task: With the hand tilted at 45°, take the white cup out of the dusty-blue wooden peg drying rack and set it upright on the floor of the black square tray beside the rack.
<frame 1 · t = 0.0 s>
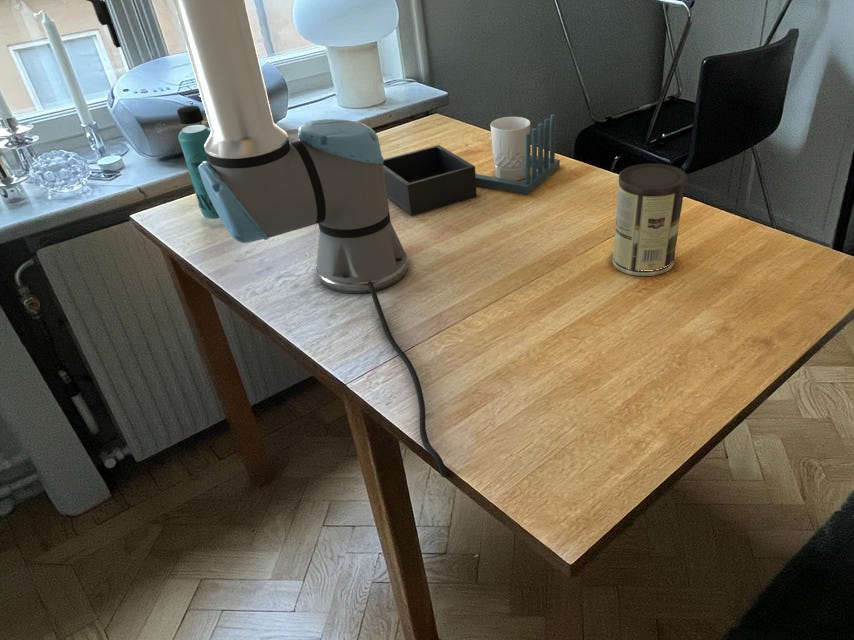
hand: (156, 39, 129), 28 cm above the table, tool pointing down, fingers open, 13 cm apart
black square tray: (426, 194, 145), on the table
beverage bottle: (221, 220, 141), on the table
coffee can: (642, 262, 121), on the table
white cup: (511, 176, 149), on the table
drying rack: (511, 175, 149), on the table
canned food: (304, 193, 148), on the table
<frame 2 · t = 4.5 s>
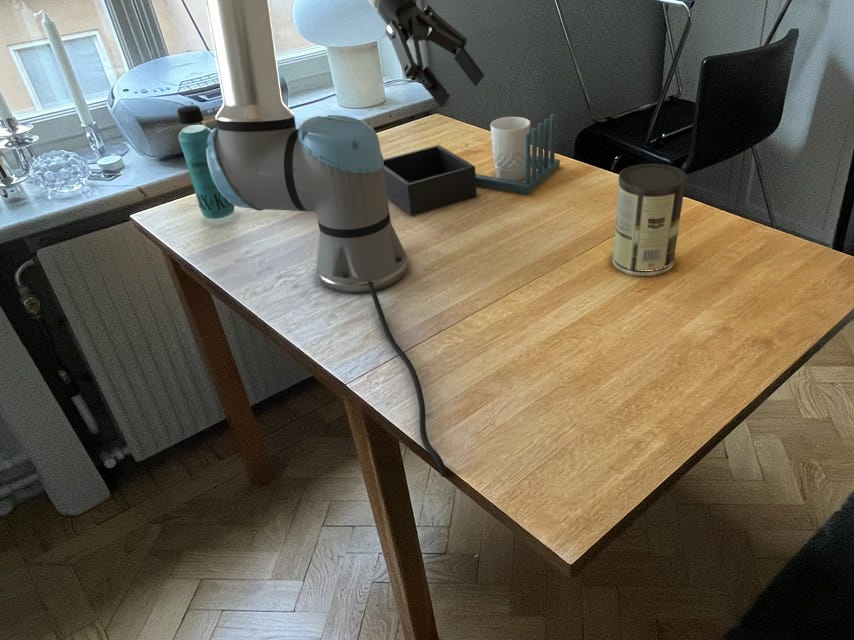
hand: (463, 91, 143), 15 cm above the table, tool tilted 45°, fingers open, 13 cm apart
nothing on the table moved.
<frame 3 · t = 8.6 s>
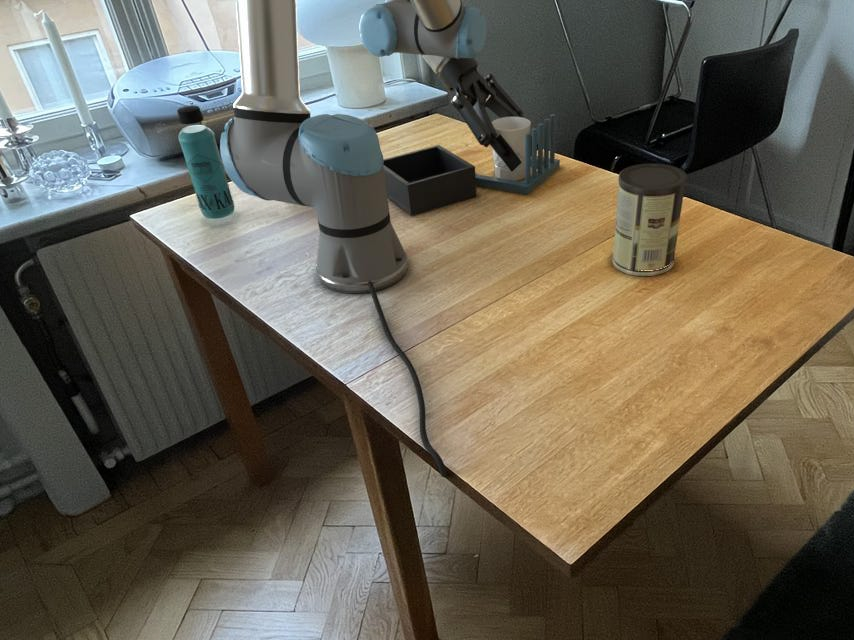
hand: (526, 159, 145), 4 cm above the table, tool tilted 45°, fingers closed on white cup, 8 cm apart
white cup: (511, 176, 149), on the table, touching gripper
everything else where it was.
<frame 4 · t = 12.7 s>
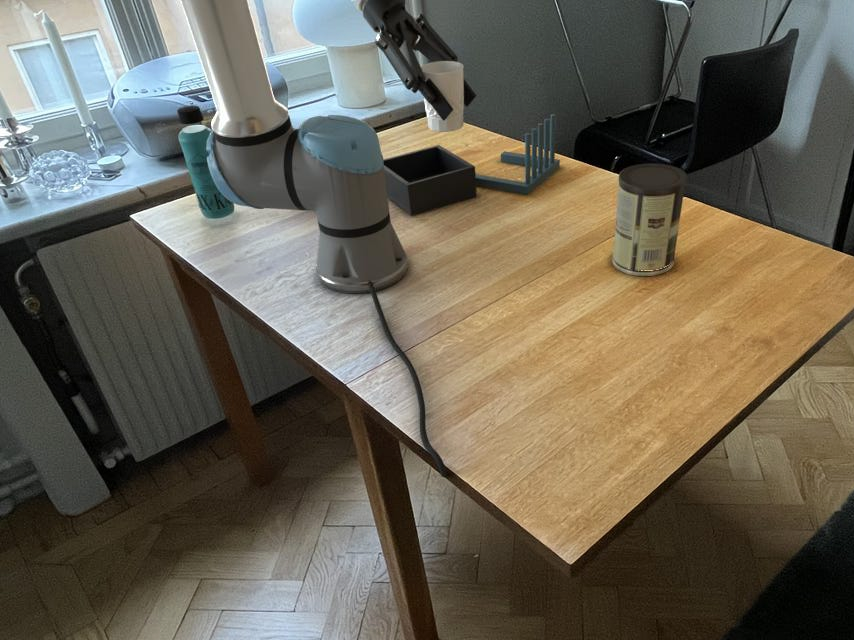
hand: (460, 108, 133), 15 cm above the table, tool tilted 45°, fingers closed on white cup, 8 cm apart
white cup: (446, 127, 137), point 12 cm above the table, touching gripper
everything else where it was.
when the fingers open (5 cm above the table, at t = 17.6 s): white cup stays where it is, resting on black square tray.
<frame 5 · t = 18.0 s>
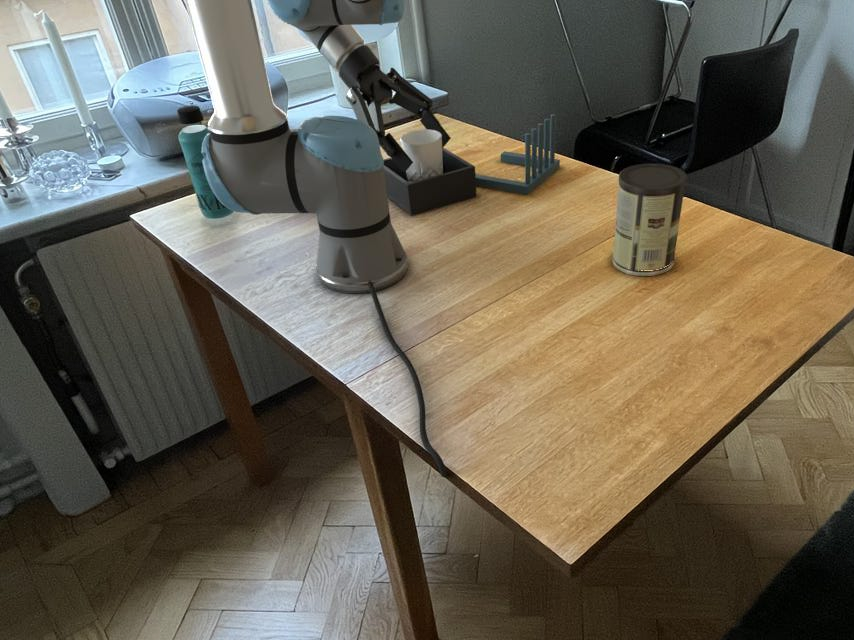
hand: (428, 155, 139), 8 cm above the table, tool tilted 45°, fingers open, 13 cm apart
white cup: (426, 190, 144), point 1 cm above the table, touching black square tray
everything else where it was.
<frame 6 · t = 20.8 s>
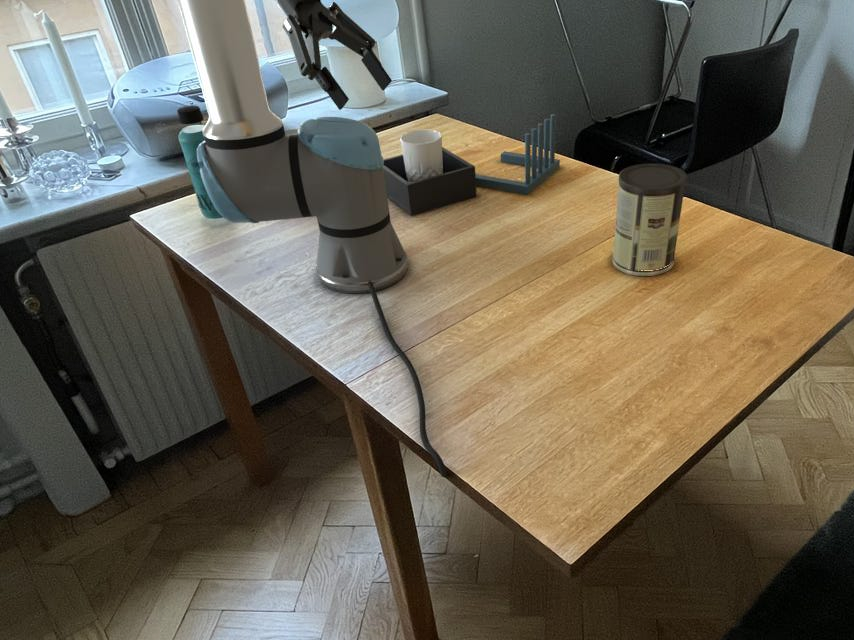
hand: (366, 95, 136), 17 cm above the table, tool tilted 40°, fingers open, 13 cm apart
nothing on the table moved.
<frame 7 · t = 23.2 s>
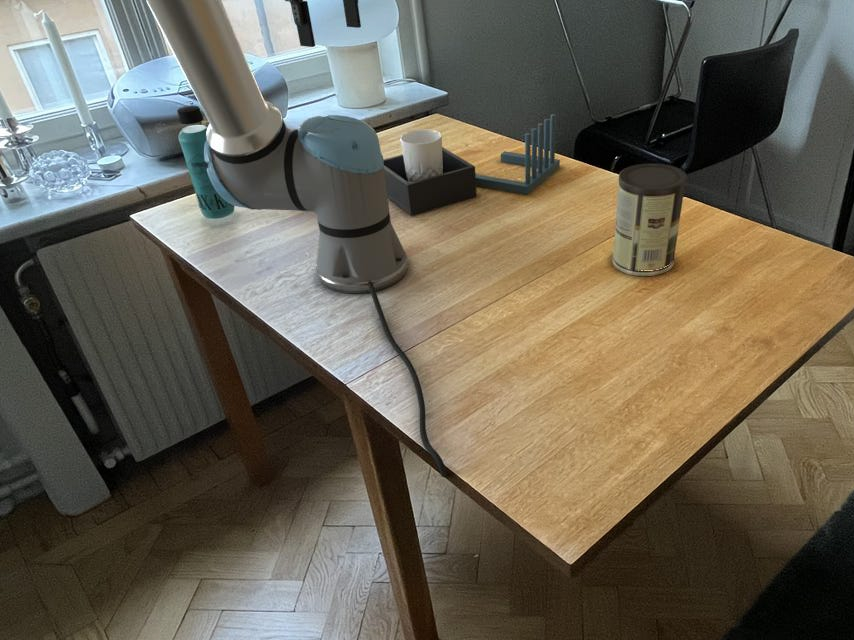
hand: (331, 36, 130), 27 cm above the table, tool pointing down, fingers open, 13 cm apart
nothing on the table moved.
at the end: white cup inside the target area in the black square tray (0.1 cm from its centre), point 0.6 cm above the black square tray's base; white cup tilted 0°; the gripper is holding nothing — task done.
